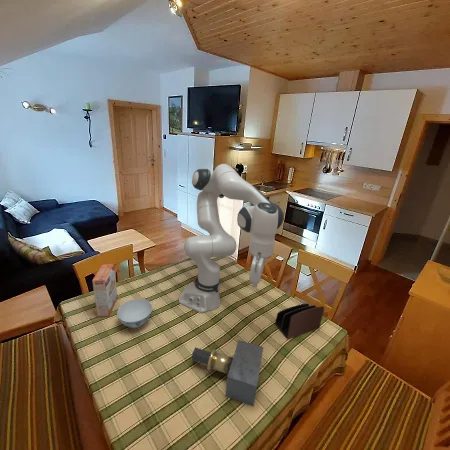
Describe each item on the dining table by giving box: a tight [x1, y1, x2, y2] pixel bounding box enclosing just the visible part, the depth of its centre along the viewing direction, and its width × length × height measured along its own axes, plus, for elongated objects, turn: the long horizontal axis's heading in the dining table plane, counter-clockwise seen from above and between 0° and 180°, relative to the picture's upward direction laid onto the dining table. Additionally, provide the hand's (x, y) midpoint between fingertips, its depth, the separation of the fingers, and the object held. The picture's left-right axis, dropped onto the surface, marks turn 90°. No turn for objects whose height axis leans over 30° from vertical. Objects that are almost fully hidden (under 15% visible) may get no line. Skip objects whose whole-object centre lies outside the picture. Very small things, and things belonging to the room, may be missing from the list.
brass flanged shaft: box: [191, 346, 234, 375], centre depth 90 cm, size 15×7×7 cm, turn 74°
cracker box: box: [91, 263, 118, 318], centre depth 115 cm, size 14×6×21 cm, turn 8°
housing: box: [225, 339, 264, 407], centre depth 87 cm, size 10×16×10 cm, turn 164°
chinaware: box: [116, 298, 153, 329], centre depth 109 cm, size 15×15×8 cm
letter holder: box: [274, 303, 325, 340], centre depth 113 cm, size 10×20×14 cm, turn 114°
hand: (256, 279), depth 91 cm, fingers open, 8 cm apart
